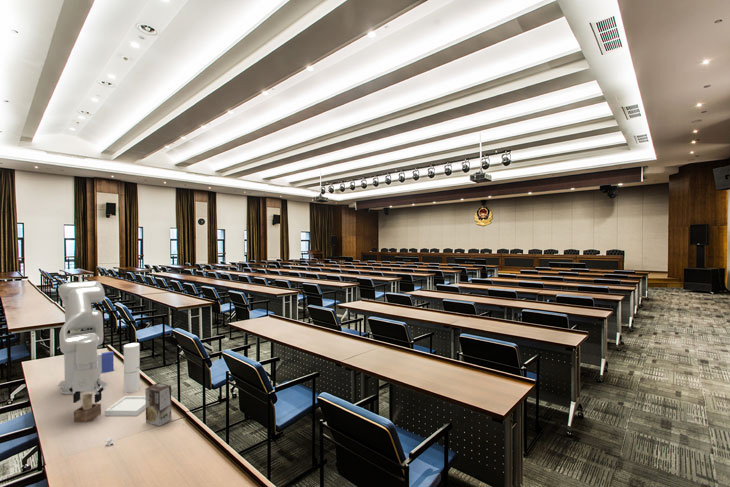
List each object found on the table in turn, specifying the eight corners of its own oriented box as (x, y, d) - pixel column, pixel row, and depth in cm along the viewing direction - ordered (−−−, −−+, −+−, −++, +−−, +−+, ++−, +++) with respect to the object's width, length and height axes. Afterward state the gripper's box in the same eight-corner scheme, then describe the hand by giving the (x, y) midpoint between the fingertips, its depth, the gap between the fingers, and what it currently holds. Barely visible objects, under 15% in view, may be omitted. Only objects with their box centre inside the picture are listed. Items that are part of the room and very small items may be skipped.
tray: (104, 415, 159) (104, 410, 159) (125, 400, 173) (125, 396, 173) (137, 415, 160) (137, 410, 160) (154, 400, 174) (154, 396, 174)
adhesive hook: (112, 443, 140) (112, 435, 140) (114, 445, 139) (114, 438, 138) (104, 446, 138) (103, 439, 138) (105, 449, 136) (105, 441, 136)
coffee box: (172, 419, 158) (172, 385, 157) (159, 426, 152) (159, 391, 151) (157, 415, 161) (157, 382, 160) (145, 422, 155) (144, 388, 154)
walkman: (113, 369, 211) (113, 350, 210) (113, 370, 209) (113, 351, 208) (97, 372, 206) (97, 353, 206) (97, 374, 204) (97, 354, 204)
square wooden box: (73, 422, 154) (73, 411, 153) (86, 413, 161) (85, 403, 160) (89, 422, 154) (89, 411, 154) (100, 413, 161) (100, 403, 161)
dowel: (80, 420, 156) (80, 396, 155) (86, 415, 159) (86, 393, 158) (88, 420, 156) (88, 396, 155) (94, 416, 159) (93, 393, 159)
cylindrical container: (142, 387, 188) (142, 343, 188) (132, 393, 181) (132, 347, 180) (131, 386, 189) (130, 342, 188) (120, 392, 182) (120, 346, 181)
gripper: (60, 368, 152) (61, 405, 153) (99, 368, 153) (100, 405, 153) (74, 362, 160) (75, 397, 160) (111, 362, 160) (112, 397, 161)
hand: (87, 401), depth 157 cm, fingers open, 9 cm apart
